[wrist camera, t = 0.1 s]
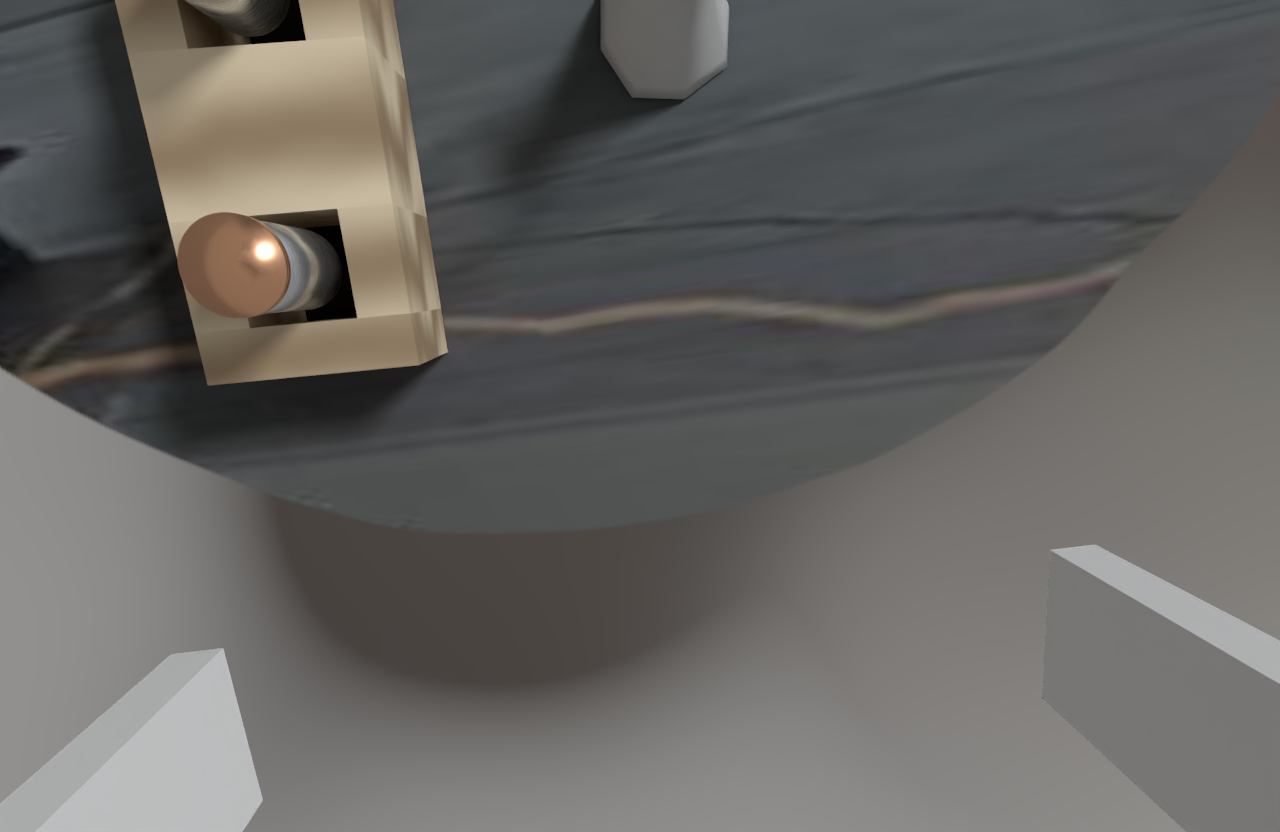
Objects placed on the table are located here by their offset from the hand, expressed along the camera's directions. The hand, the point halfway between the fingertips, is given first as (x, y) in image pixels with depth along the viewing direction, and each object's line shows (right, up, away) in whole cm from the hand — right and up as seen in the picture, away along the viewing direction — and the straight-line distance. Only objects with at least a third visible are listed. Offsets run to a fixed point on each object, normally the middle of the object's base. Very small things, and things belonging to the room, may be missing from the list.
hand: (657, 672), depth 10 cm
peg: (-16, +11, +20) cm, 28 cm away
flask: (+1, +25, +24) cm, 34 cm away
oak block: (-17, +18, +24) cm, 34 cm away
